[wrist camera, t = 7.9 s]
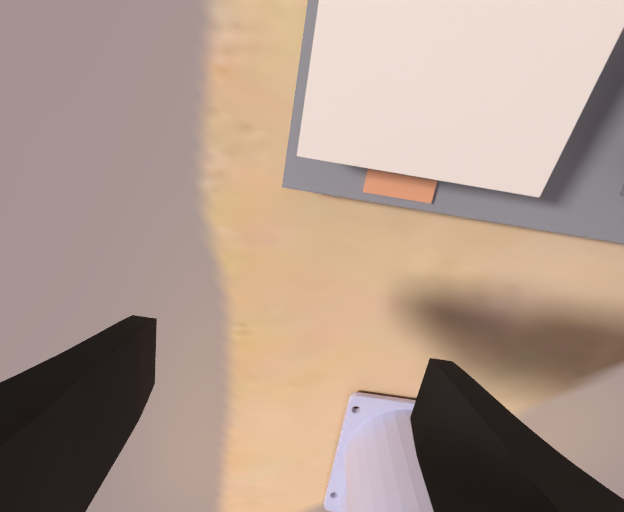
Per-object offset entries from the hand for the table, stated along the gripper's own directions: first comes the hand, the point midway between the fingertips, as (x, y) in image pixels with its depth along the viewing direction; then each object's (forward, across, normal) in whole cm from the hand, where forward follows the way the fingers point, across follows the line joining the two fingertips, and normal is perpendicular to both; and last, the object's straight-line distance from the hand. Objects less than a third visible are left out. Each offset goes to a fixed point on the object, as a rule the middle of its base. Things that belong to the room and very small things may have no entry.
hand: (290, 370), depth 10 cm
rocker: (+7, -4, -8) cm, 12 cm away
